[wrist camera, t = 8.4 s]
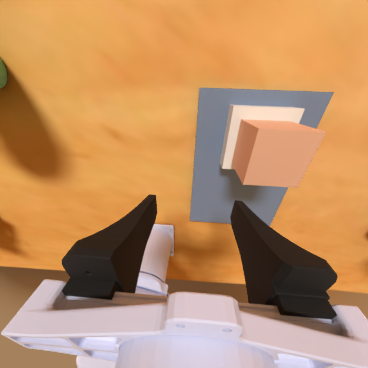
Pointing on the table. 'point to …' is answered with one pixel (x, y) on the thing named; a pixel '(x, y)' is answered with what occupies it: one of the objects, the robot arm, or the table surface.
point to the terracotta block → (274, 152)
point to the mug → (2, 74)
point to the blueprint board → (227, 180)
